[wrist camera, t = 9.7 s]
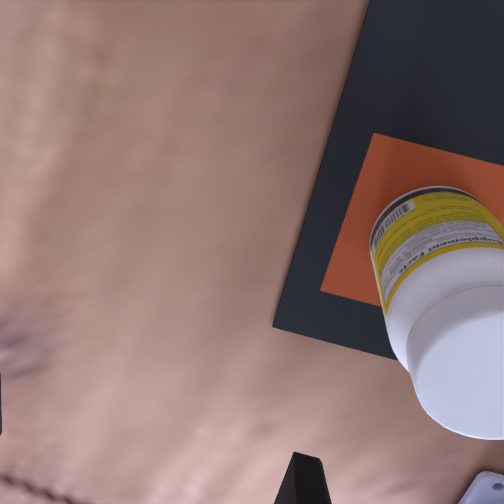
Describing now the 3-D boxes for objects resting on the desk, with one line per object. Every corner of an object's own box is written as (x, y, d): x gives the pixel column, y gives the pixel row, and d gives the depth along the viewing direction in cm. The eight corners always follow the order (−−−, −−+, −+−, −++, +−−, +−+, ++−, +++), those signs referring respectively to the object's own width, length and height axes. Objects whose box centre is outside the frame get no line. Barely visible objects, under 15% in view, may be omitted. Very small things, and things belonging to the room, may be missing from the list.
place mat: (873, -276, 12) (882, -281, 12) (484, 381, 22) (486, 384, 22) (481, -369, 12) (483, -375, 12) (272, 324, 22) (272, 327, 22)
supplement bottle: (491, 286, 20) (597, 452, 12) (373, 296, 20) (403, 456, 13) (495, 173, 18) (624, 288, 10) (363, 190, 18) (392, 306, 11)
